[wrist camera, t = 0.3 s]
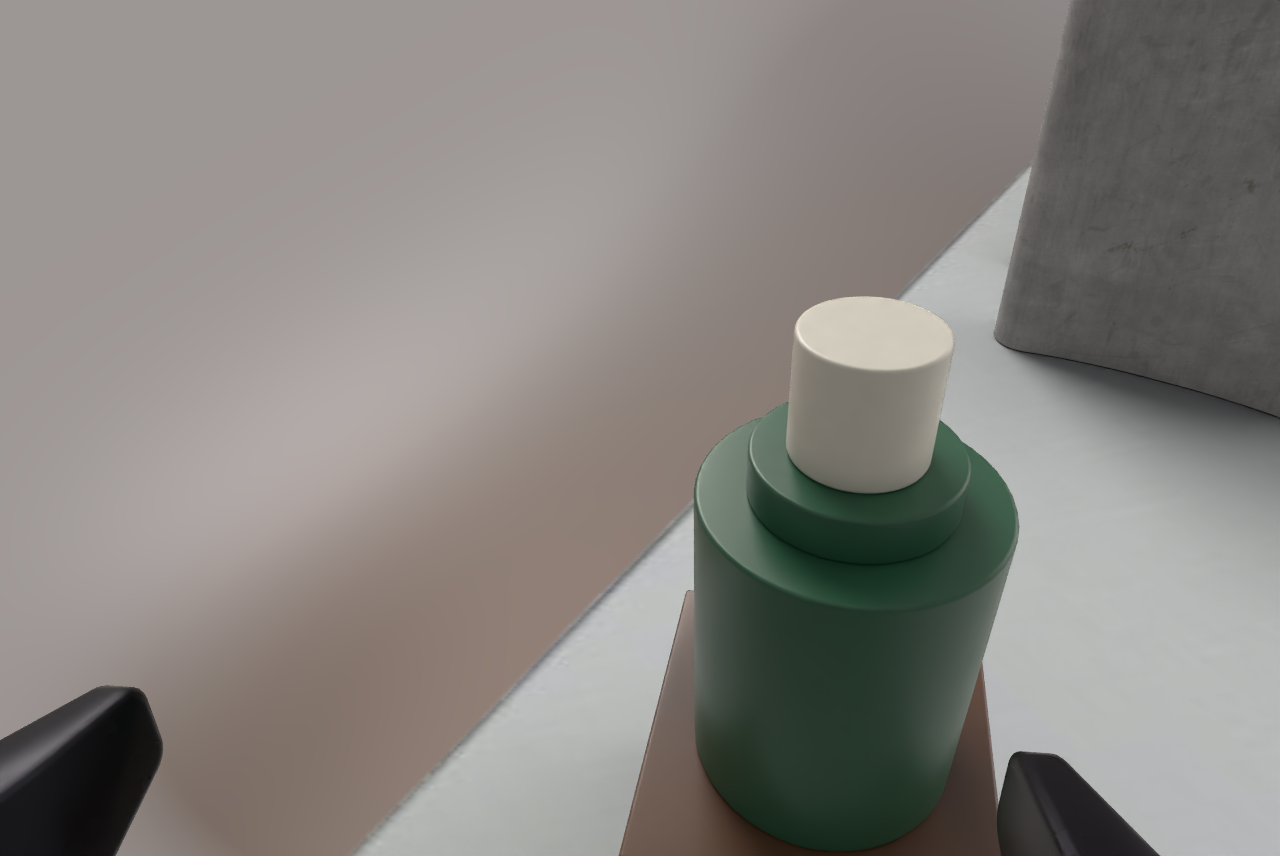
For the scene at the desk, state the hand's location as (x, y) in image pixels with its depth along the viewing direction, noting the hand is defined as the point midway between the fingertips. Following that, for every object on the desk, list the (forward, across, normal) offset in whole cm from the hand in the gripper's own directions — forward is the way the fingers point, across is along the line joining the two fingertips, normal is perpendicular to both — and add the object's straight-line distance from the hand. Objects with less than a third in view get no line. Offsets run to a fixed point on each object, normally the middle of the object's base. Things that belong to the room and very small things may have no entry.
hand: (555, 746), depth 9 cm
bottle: (+9, -4, +9) cm, 14 cm away
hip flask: (+38, -23, +11) cm, 45 cm away
